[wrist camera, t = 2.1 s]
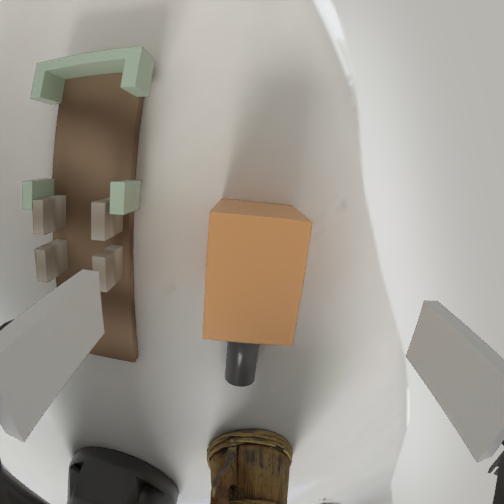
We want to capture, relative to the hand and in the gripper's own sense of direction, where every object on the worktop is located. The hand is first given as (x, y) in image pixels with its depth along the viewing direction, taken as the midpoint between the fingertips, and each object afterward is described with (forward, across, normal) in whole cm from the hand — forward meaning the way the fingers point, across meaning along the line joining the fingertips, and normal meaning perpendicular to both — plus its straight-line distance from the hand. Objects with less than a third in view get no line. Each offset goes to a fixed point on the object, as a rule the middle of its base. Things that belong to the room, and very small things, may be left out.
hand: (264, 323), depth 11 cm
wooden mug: (+12, -1, +21) cm, 24 cm away
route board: (+12, +13, -1) cm, 17 cm away
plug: (+12, 0, +4) cm, 12 cm away
